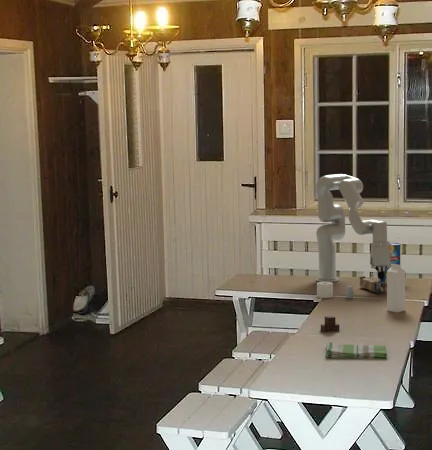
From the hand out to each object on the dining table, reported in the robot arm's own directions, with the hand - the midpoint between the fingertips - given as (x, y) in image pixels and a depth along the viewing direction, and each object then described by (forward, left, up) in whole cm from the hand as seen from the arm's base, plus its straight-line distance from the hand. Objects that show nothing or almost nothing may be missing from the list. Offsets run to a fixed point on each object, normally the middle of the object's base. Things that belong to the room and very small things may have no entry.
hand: (380, 278), depth 444 cm
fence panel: (+9, +1, -6) cm, 11 cm away
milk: (+47, -17, -6) cm, 51 cm away
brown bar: (-1, -6, -5) cm, 8 cm away
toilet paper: (+2, -32, -6) cm, 33 cm away
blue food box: (-13, +12, -6) cm, 18 cm away
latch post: (+12, -24, -6) cm, 28 cm away
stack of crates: (+72, -61, -7) cm, 95 cm away
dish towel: (+106, -67, -7) cm, 126 cm away
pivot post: (+9, -6, -6) cm, 13 cm away
